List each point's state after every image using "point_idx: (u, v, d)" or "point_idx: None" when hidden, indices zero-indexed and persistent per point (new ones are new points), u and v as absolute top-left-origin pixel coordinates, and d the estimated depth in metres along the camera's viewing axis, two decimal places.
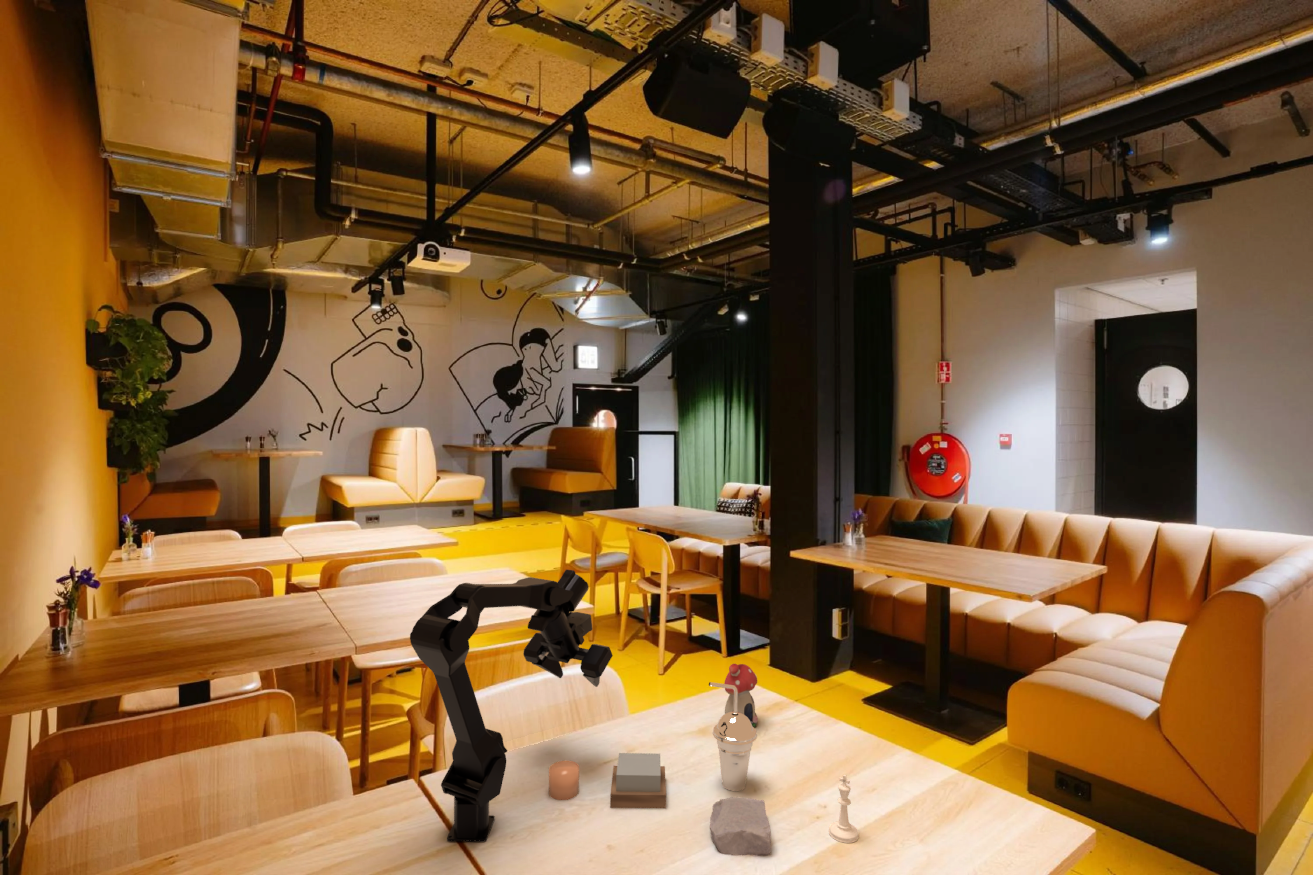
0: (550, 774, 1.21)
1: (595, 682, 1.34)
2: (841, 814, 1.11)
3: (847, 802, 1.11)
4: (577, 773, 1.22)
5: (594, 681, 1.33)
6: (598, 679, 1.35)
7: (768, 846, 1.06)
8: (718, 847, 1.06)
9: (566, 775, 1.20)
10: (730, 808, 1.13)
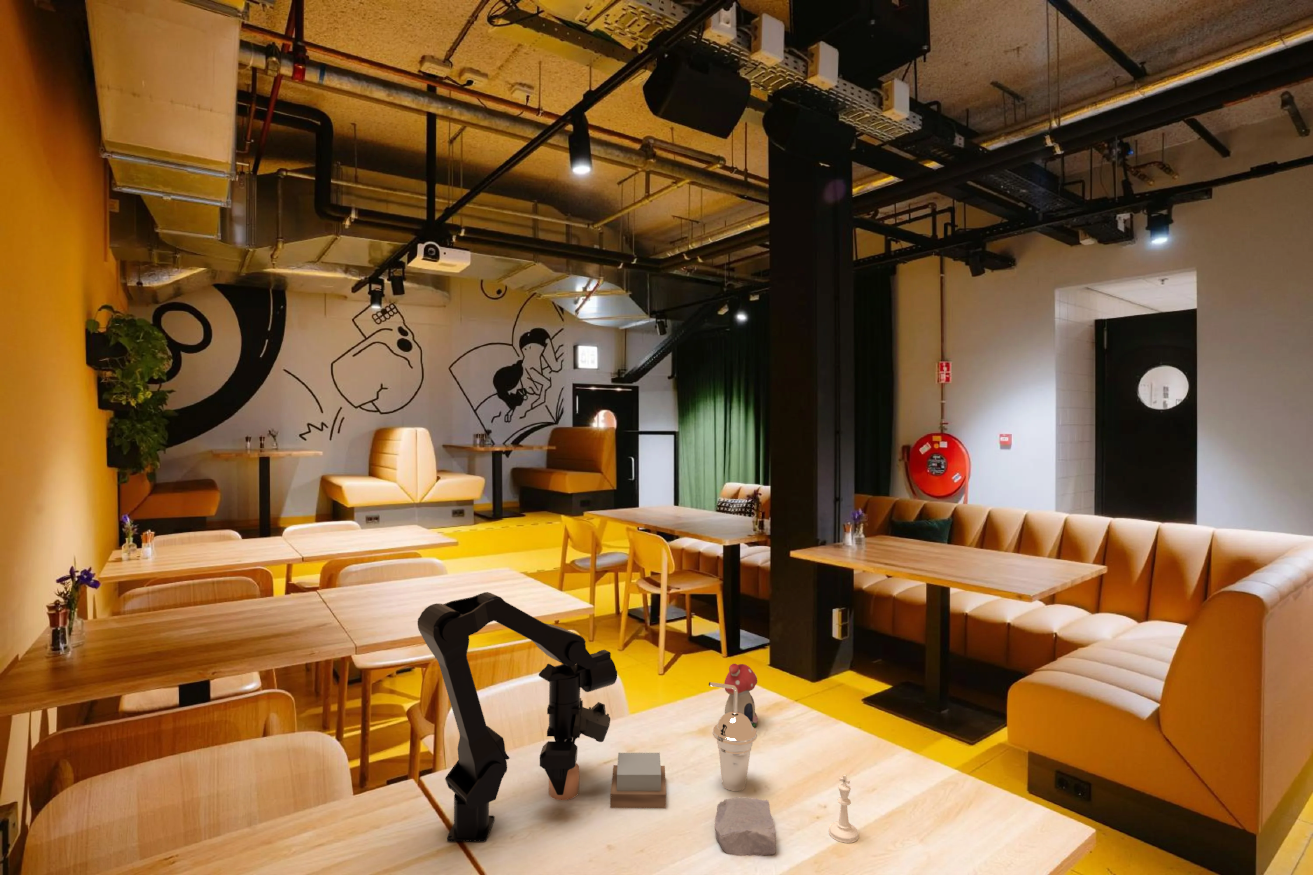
0: None
1: (553, 784, 1.17)
2: (841, 814, 1.11)
3: (847, 802, 1.11)
4: (577, 773, 1.22)
5: (551, 780, 1.17)
6: (560, 787, 1.18)
7: (773, 846, 1.05)
8: (723, 847, 1.06)
9: None
10: (734, 808, 1.13)
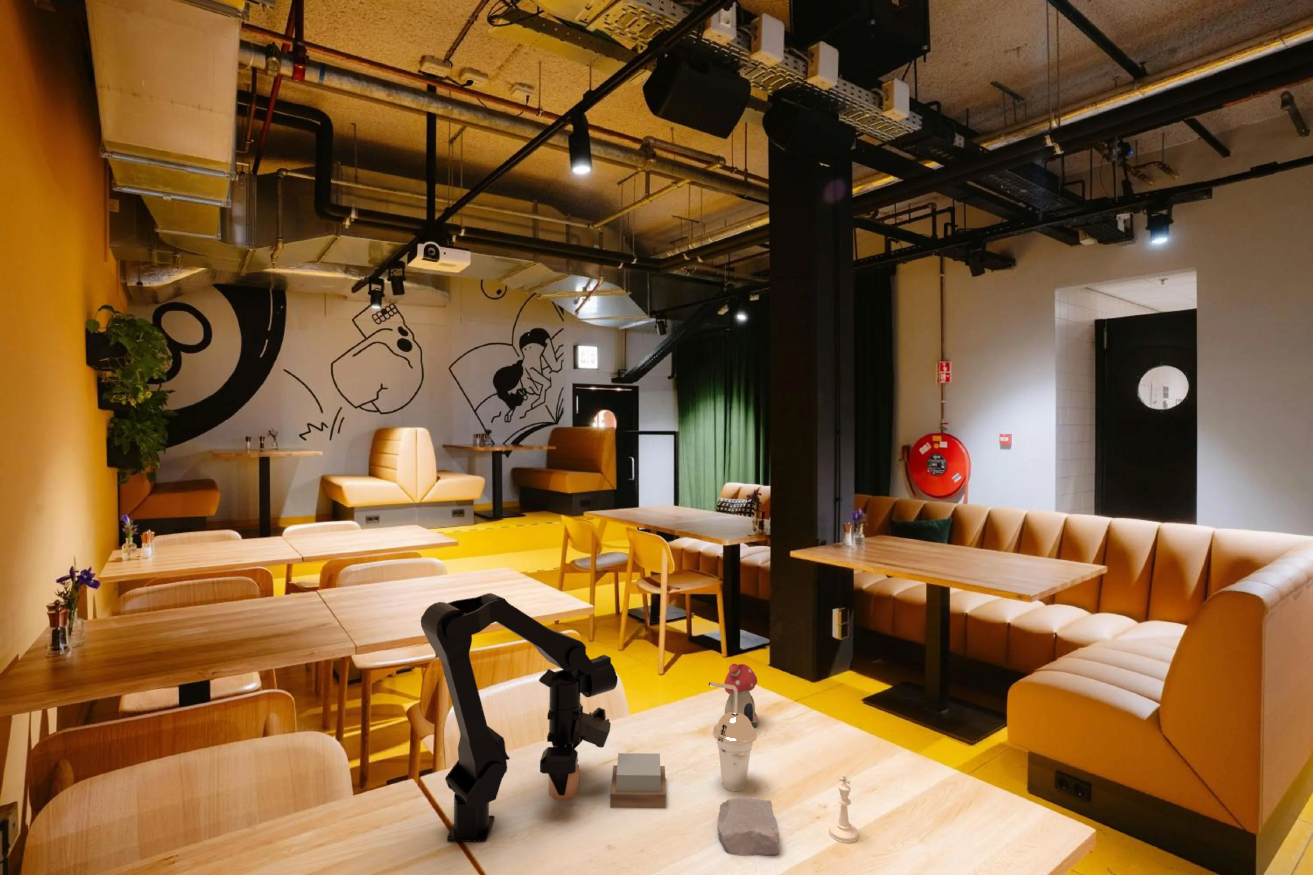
0: None
1: (555, 784, 1.19)
2: (841, 814, 1.11)
3: (847, 802, 1.11)
4: (577, 773, 1.22)
5: (553, 780, 1.19)
6: (562, 787, 1.19)
7: (776, 846, 1.05)
8: (726, 848, 1.06)
9: None
10: (737, 808, 1.13)
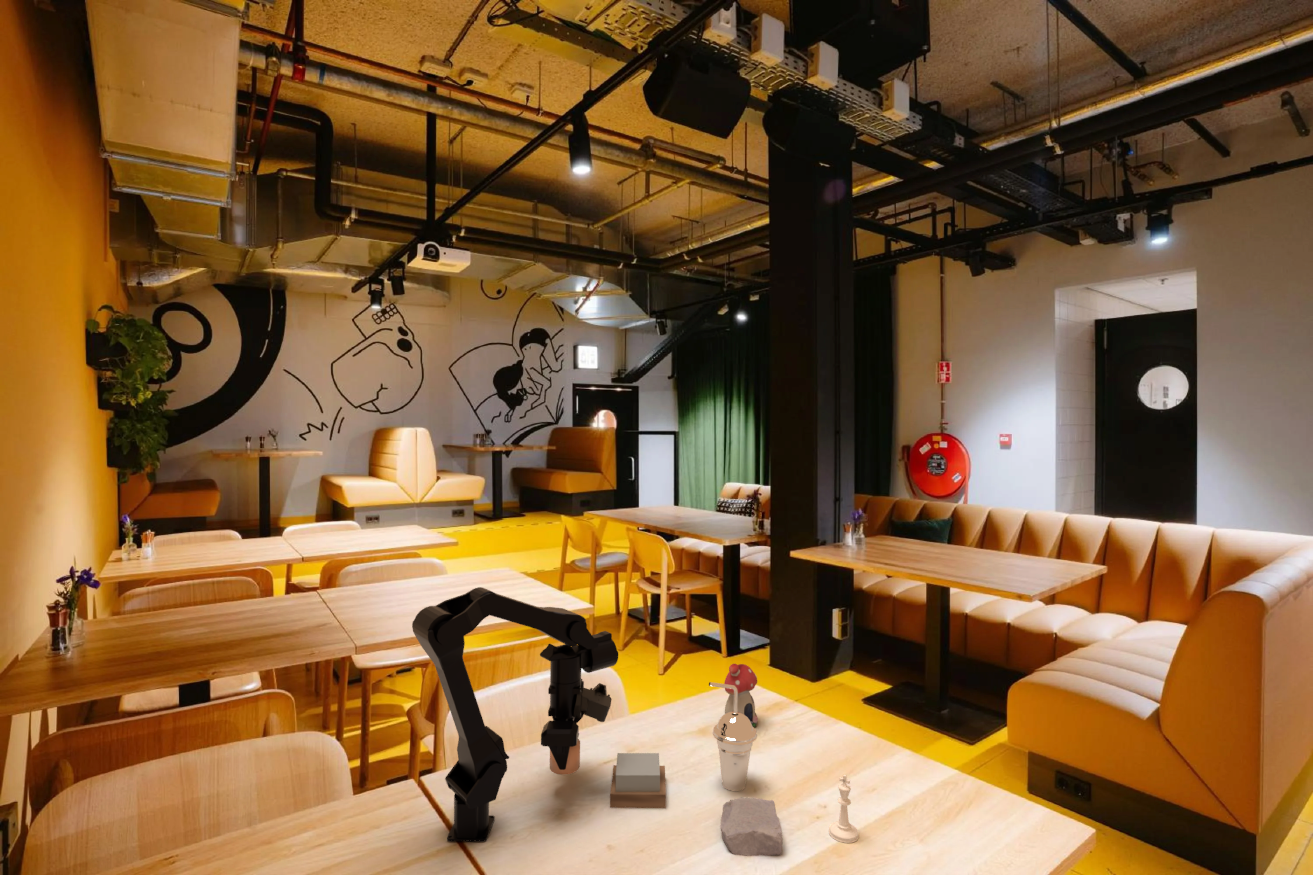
0: None
1: (556, 758, 1.19)
2: (841, 814, 1.11)
3: (847, 802, 1.11)
4: (578, 748, 1.22)
5: (554, 755, 1.19)
6: (563, 762, 1.19)
7: (779, 846, 1.05)
8: (729, 848, 1.06)
9: None
10: (740, 809, 1.13)
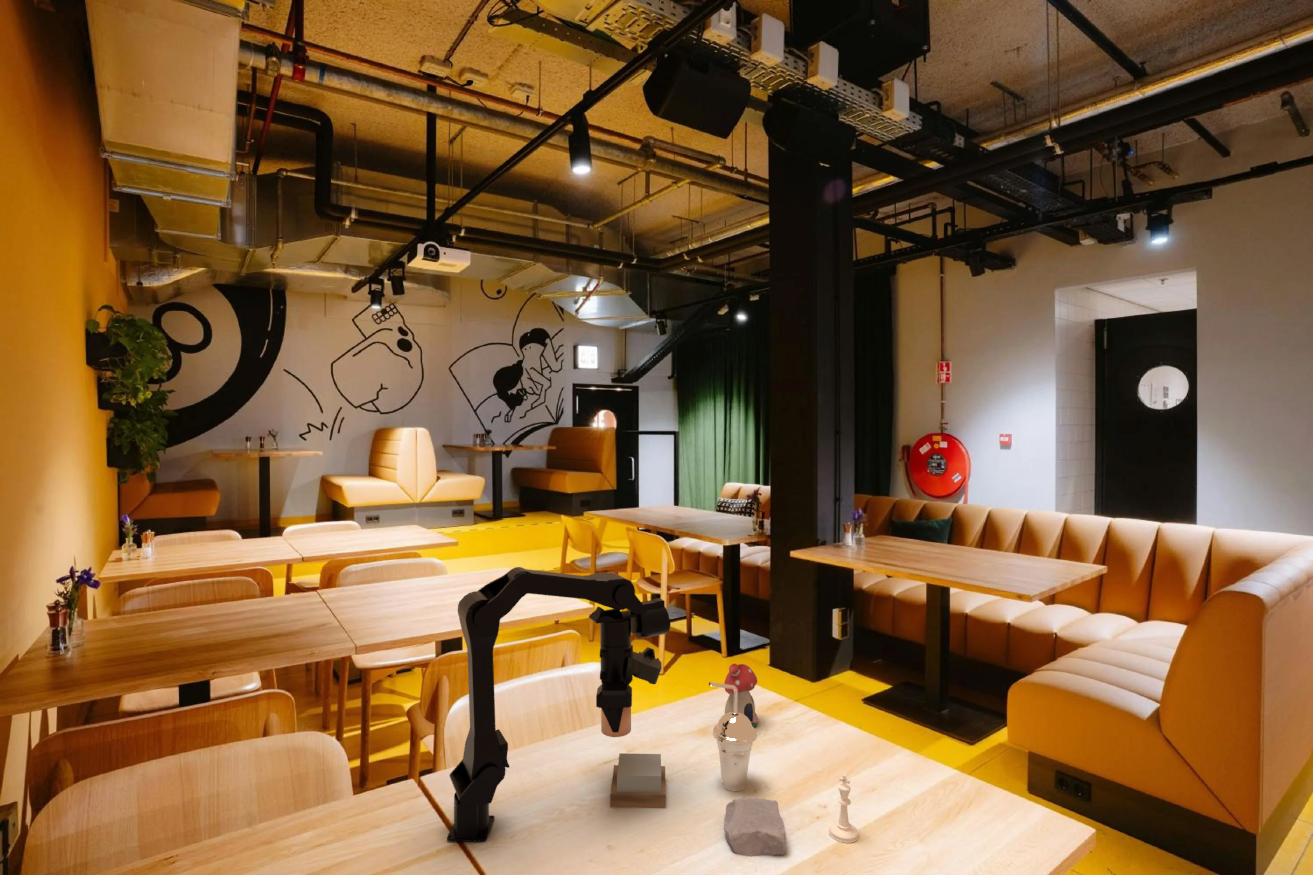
0: (603, 712, 1.22)
1: (609, 721, 1.19)
2: (841, 814, 1.11)
3: (847, 802, 1.11)
4: (629, 710, 1.22)
5: (607, 717, 1.19)
6: (616, 724, 1.20)
7: (783, 846, 1.05)
8: (733, 848, 1.06)
9: None
10: (743, 809, 1.13)
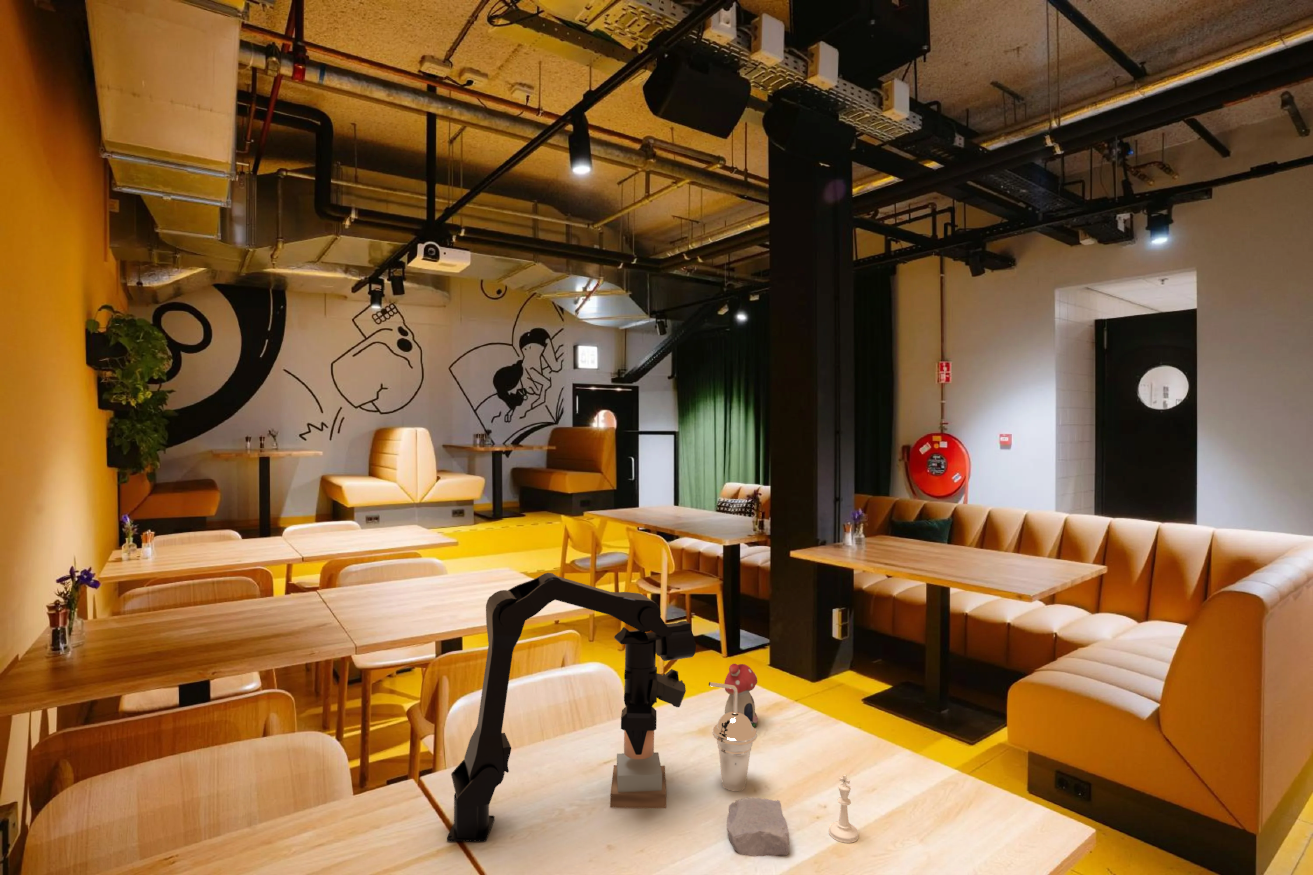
0: (626, 733, 1.21)
1: (632, 743, 1.19)
2: (841, 814, 1.11)
3: (847, 802, 1.11)
4: (653, 733, 1.22)
5: (631, 739, 1.19)
6: (639, 747, 1.19)
7: (786, 847, 1.05)
8: (736, 848, 1.06)
9: None
10: (746, 809, 1.13)
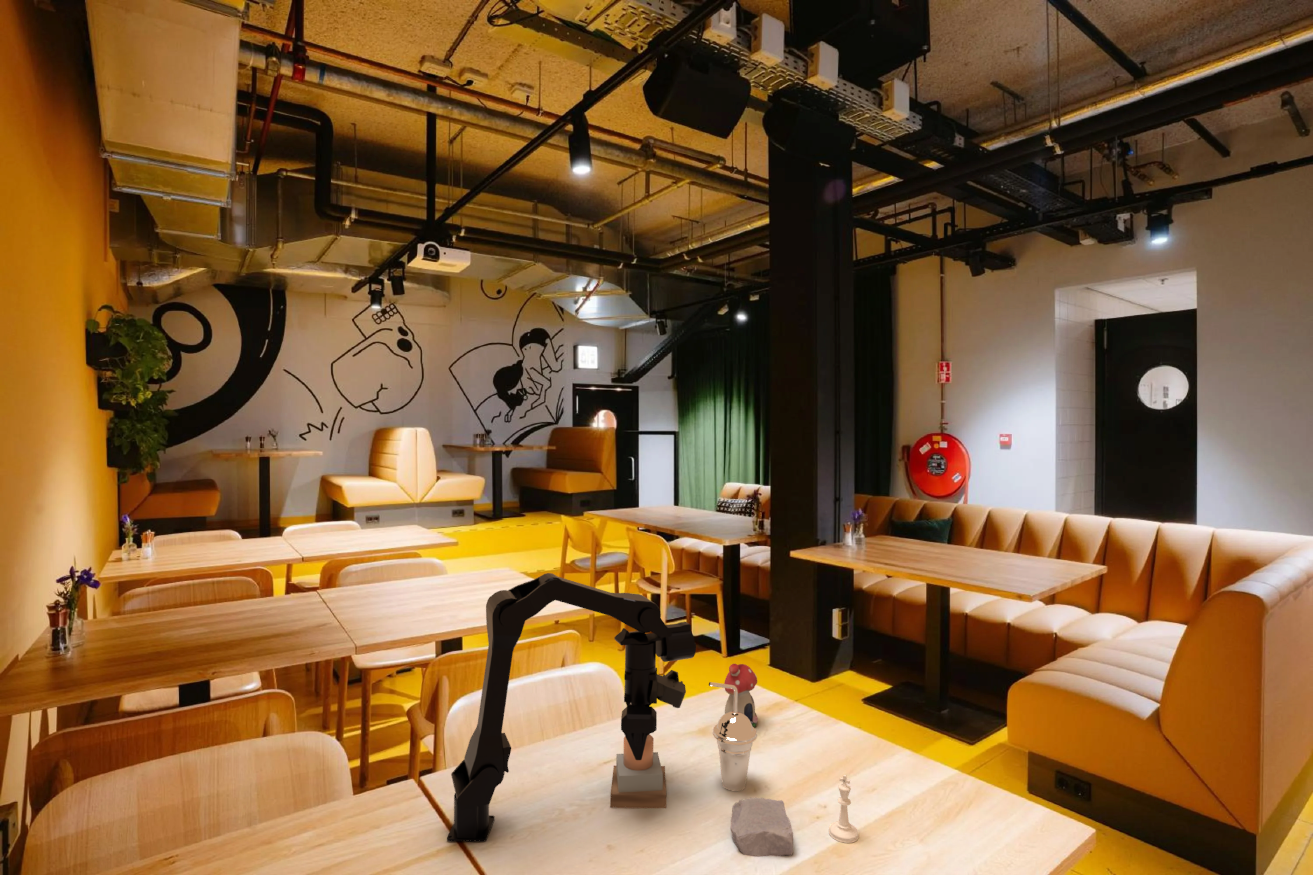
0: (626, 745, 1.22)
1: (632, 749, 1.17)
2: (841, 814, 1.11)
3: (847, 802, 1.11)
4: (652, 744, 1.23)
5: (630, 745, 1.17)
6: (639, 752, 1.18)
7: (790, 847, 1.05)
8: (740, 848, 1.06)
9: None
10: (750, 809, 1.13)
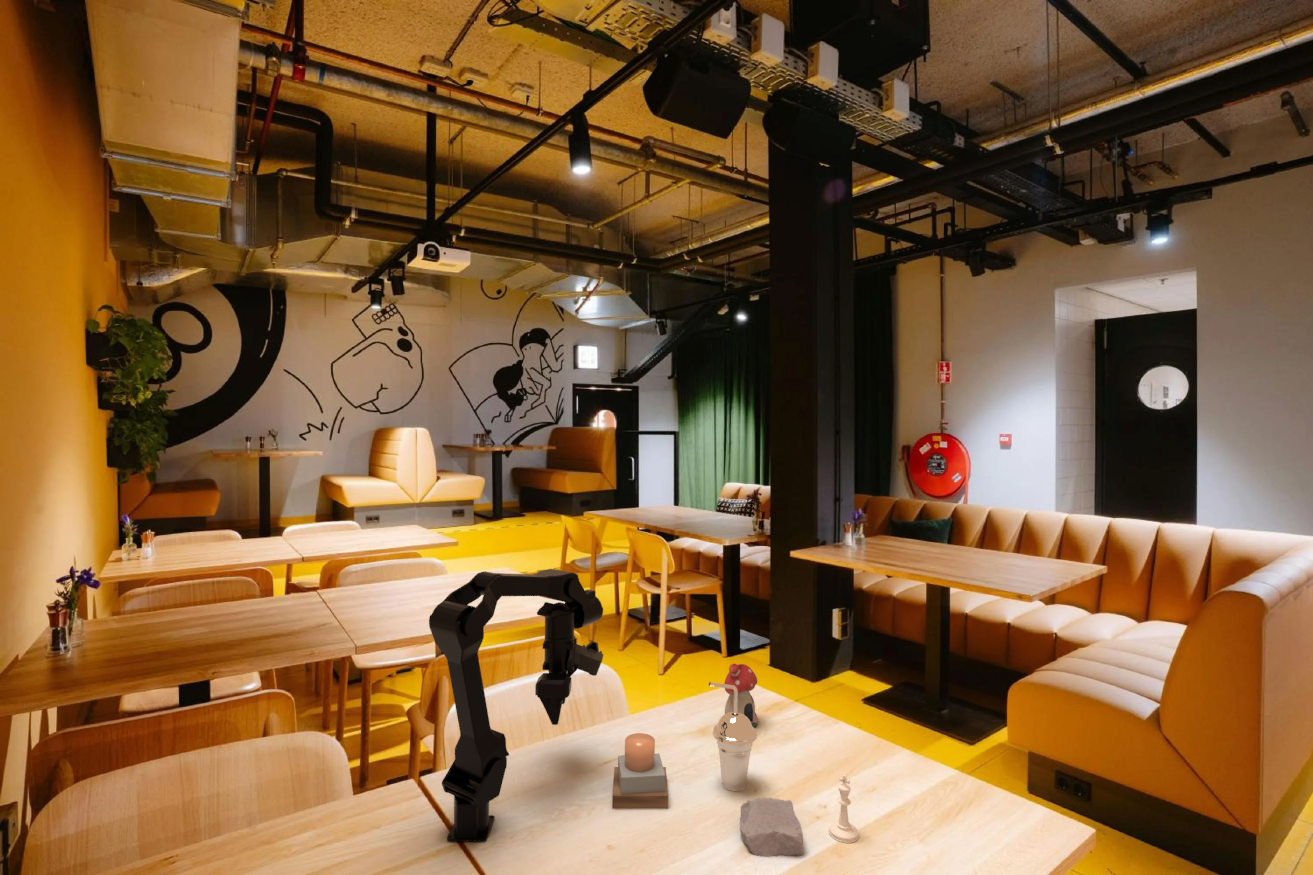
0: (627, 746, 1.21)
1: (549, 714, 1.23)
2: (841, 814, 1.11)
3: (847, 802, 1.11)
4: (654, 745, 1.22)
5: (547, 710, 1.23)
6: (555, 717, 1.23)
7: (800, 847, 1.06)
8: (750, 849, 1.06)
9: (644, 747, 1.21)
10: (758, 809, 1.13)
